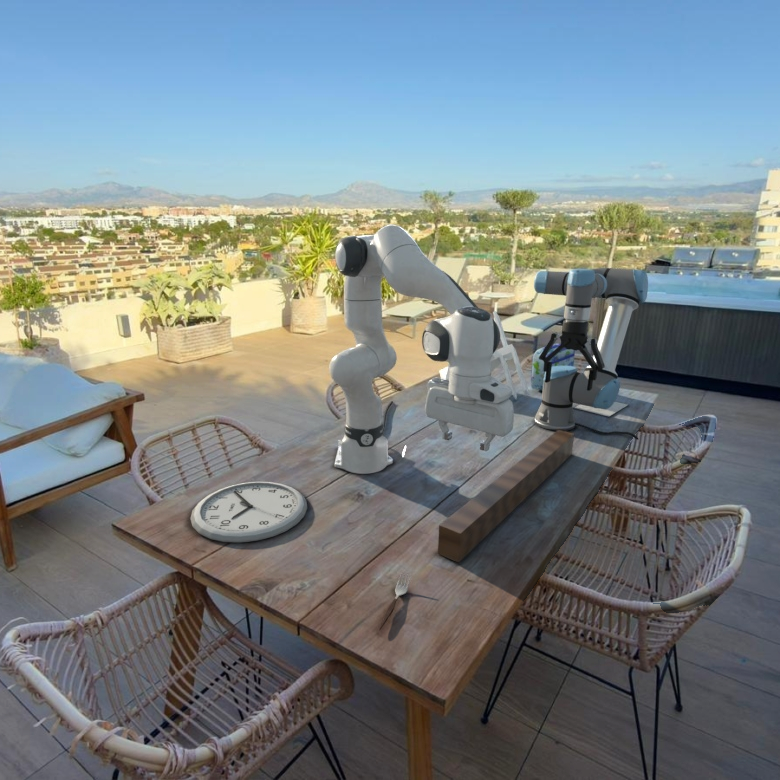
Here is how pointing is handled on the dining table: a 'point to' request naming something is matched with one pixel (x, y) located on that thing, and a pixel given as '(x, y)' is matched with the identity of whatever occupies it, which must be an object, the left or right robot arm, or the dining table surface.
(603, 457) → the dining table surface
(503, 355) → the white plastic object
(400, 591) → the fork
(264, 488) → the wall clock
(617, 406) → the invitation card
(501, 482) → the beam
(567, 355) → the lunch box
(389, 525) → the dining table surface
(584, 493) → the dining table surface
